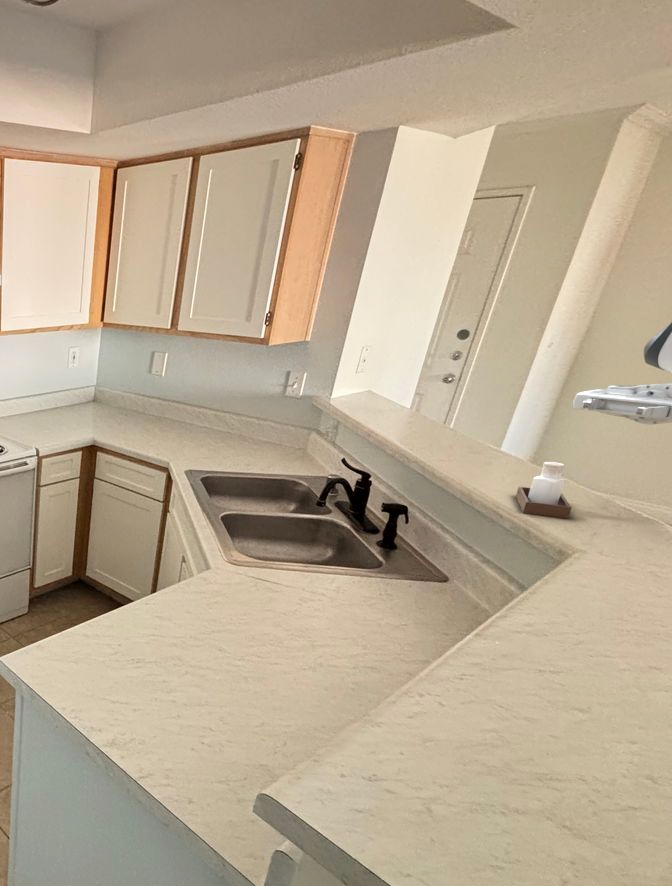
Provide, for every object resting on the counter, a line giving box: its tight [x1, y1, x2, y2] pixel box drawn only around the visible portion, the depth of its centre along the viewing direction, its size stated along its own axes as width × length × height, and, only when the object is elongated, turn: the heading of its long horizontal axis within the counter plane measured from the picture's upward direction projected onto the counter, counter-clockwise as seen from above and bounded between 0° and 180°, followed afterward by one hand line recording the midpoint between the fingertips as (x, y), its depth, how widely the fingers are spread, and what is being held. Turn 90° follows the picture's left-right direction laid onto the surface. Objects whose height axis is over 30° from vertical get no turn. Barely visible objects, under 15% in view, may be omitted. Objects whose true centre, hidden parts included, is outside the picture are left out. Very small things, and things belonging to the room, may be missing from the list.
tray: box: [515, 486, 572, 519], centre depth 130 cm, size 13×7×2 cm, turn 143°
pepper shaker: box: [527, 461, 566, 505], centre depth 128 cm, size 4×4×10 cm
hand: (611, 408), depth 126 cm, fingers open, 8 cm apart
